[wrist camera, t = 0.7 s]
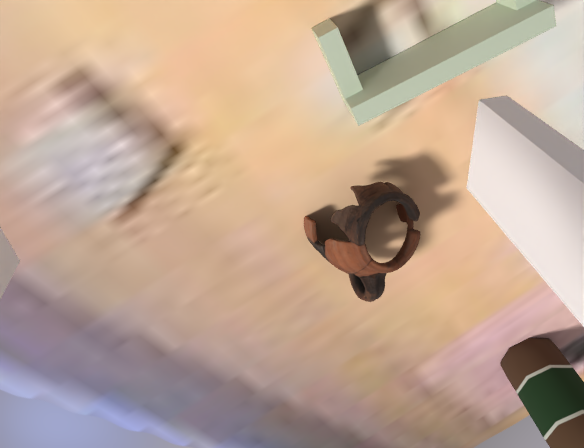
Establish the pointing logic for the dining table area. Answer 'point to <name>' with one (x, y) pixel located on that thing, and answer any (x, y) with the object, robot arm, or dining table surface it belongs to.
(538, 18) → the end stop
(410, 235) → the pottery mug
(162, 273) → the dining table surface
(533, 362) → the beer bottle
